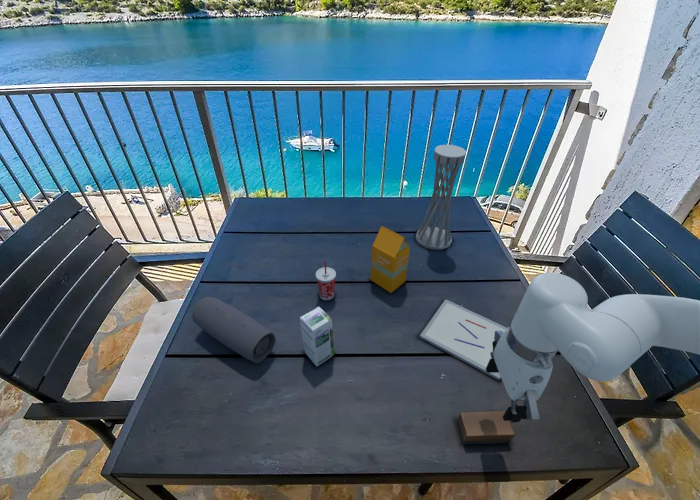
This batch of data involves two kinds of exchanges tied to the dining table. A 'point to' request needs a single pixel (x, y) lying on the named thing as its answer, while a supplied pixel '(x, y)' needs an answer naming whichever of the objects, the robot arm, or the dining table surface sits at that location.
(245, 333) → the bluetooth speaker
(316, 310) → the syrup box
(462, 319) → the board
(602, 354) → the robot arm
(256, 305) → the dining table surface
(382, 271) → the orange juice
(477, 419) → the eraser
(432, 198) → the grey lattice tower
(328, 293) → the beverage cup
